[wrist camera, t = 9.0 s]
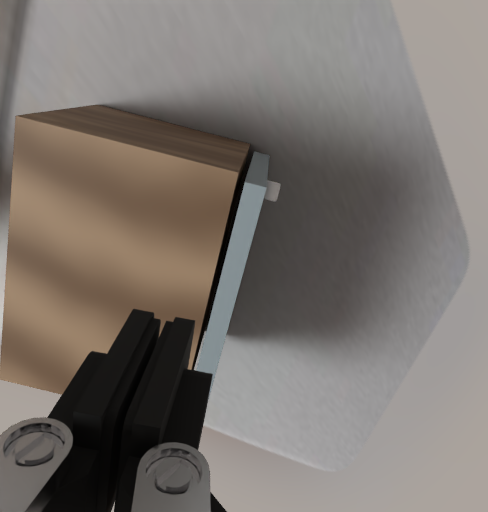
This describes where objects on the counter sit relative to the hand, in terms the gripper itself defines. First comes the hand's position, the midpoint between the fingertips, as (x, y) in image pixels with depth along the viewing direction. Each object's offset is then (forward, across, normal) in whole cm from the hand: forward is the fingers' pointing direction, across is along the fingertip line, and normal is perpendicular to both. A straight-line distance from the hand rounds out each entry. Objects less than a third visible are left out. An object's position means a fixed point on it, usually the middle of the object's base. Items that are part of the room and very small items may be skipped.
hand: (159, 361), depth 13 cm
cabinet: (+26, +6, +6) cm, 27 cm away
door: (+25, -2, +7) cm, 26 cm away
